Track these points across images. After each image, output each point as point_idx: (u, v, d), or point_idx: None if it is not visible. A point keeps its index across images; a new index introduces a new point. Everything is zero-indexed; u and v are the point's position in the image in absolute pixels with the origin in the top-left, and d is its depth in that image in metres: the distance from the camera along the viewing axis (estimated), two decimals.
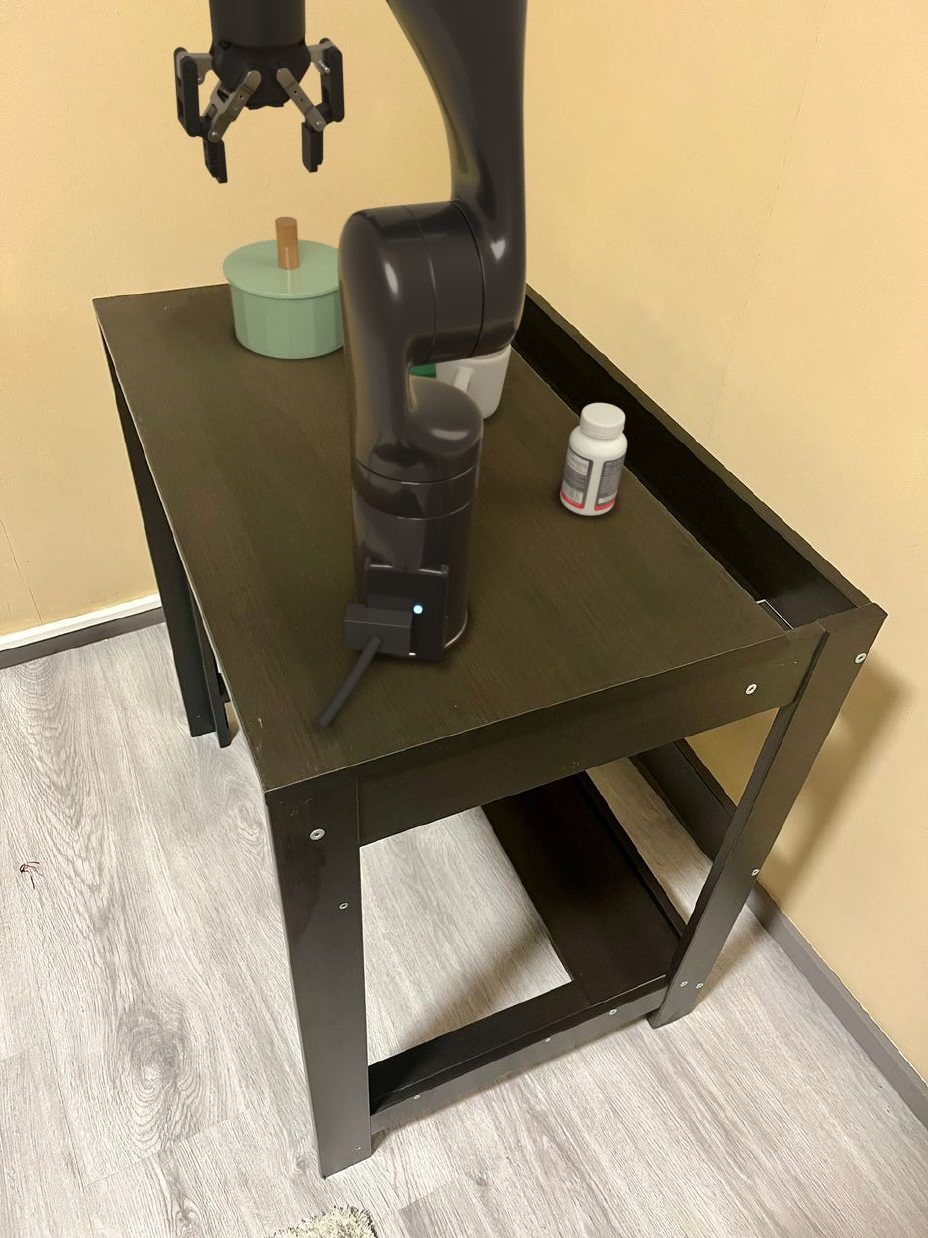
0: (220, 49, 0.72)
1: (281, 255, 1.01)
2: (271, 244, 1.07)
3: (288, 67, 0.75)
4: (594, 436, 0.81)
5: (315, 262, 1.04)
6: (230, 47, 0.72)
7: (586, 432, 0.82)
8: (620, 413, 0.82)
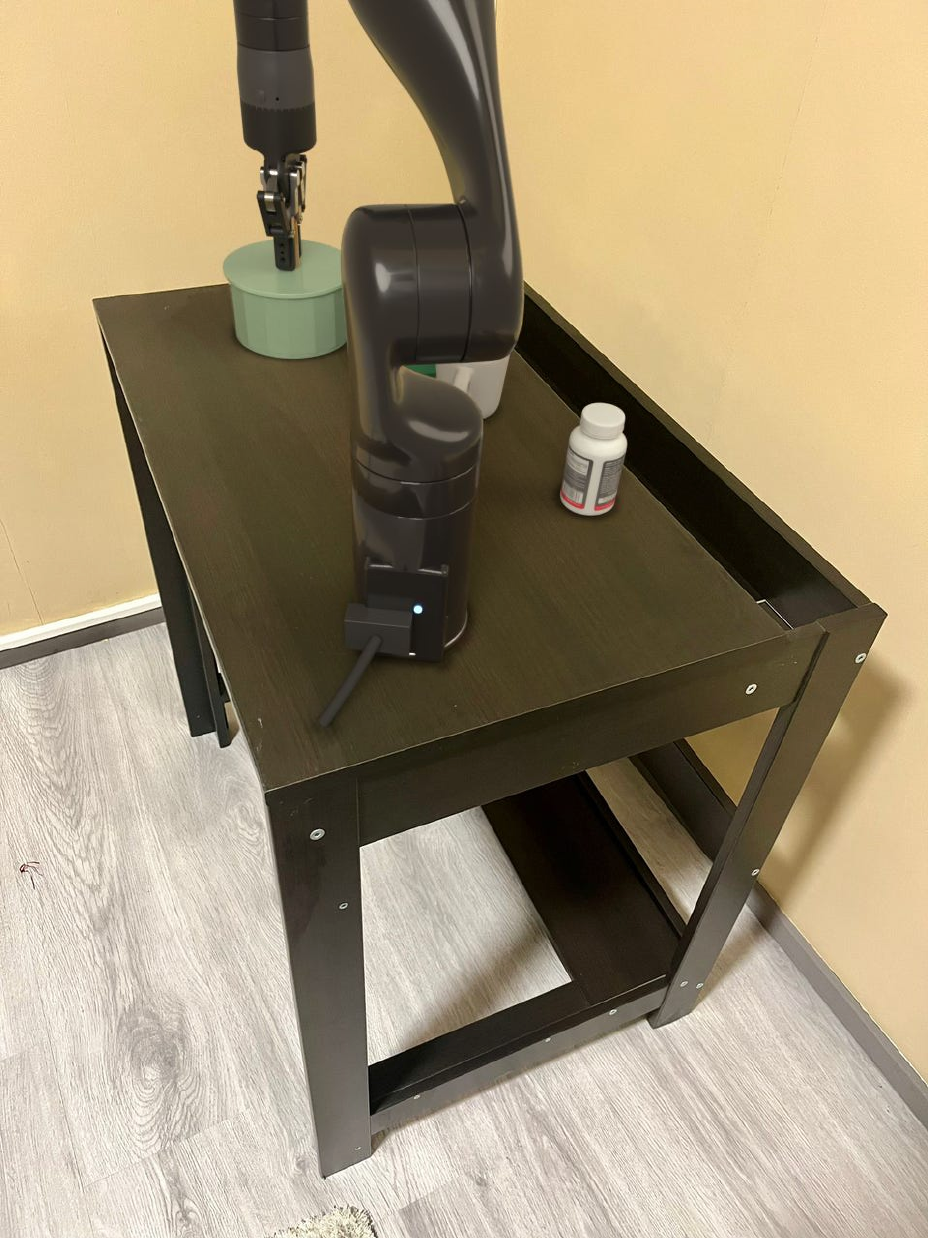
0: (282, 163, 0.92)
1: None
2: (271, 244, 1.07)
3: None
4: (594, 436, 0.81)
5: (315, 262, 1.04)
6: (285, 159, 0.93)
7: (586, 432, 0.82)
8: (620, 413, 0.82)
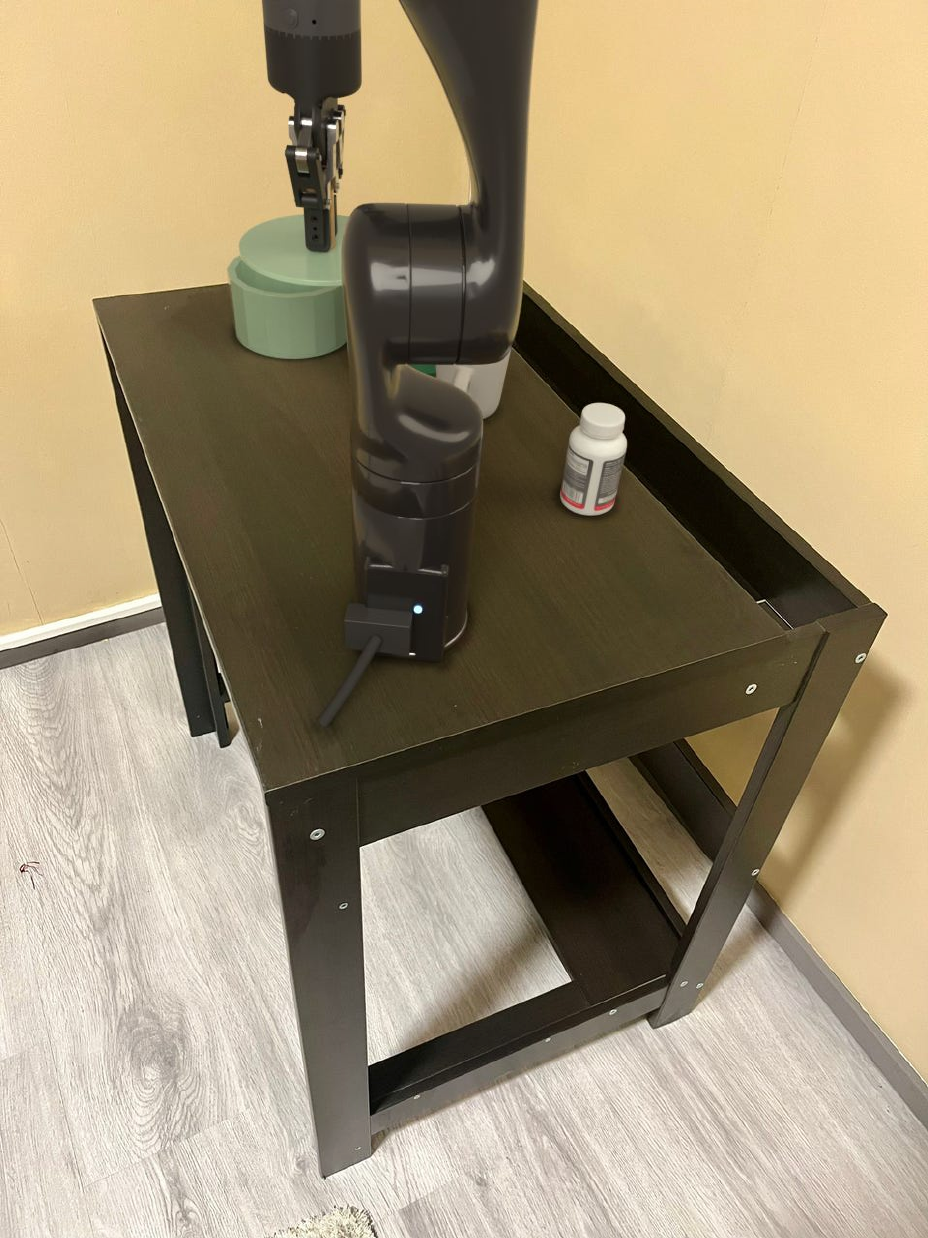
0: (318, 109, 0.71)
1: None
2: (298, 220, 0.86)
3: None
4: (594, 436, 0.81)
5: None
6: (322, 105, 0.72)
7: (586, 432, 0.82)
8: (620, 413, 0.82)
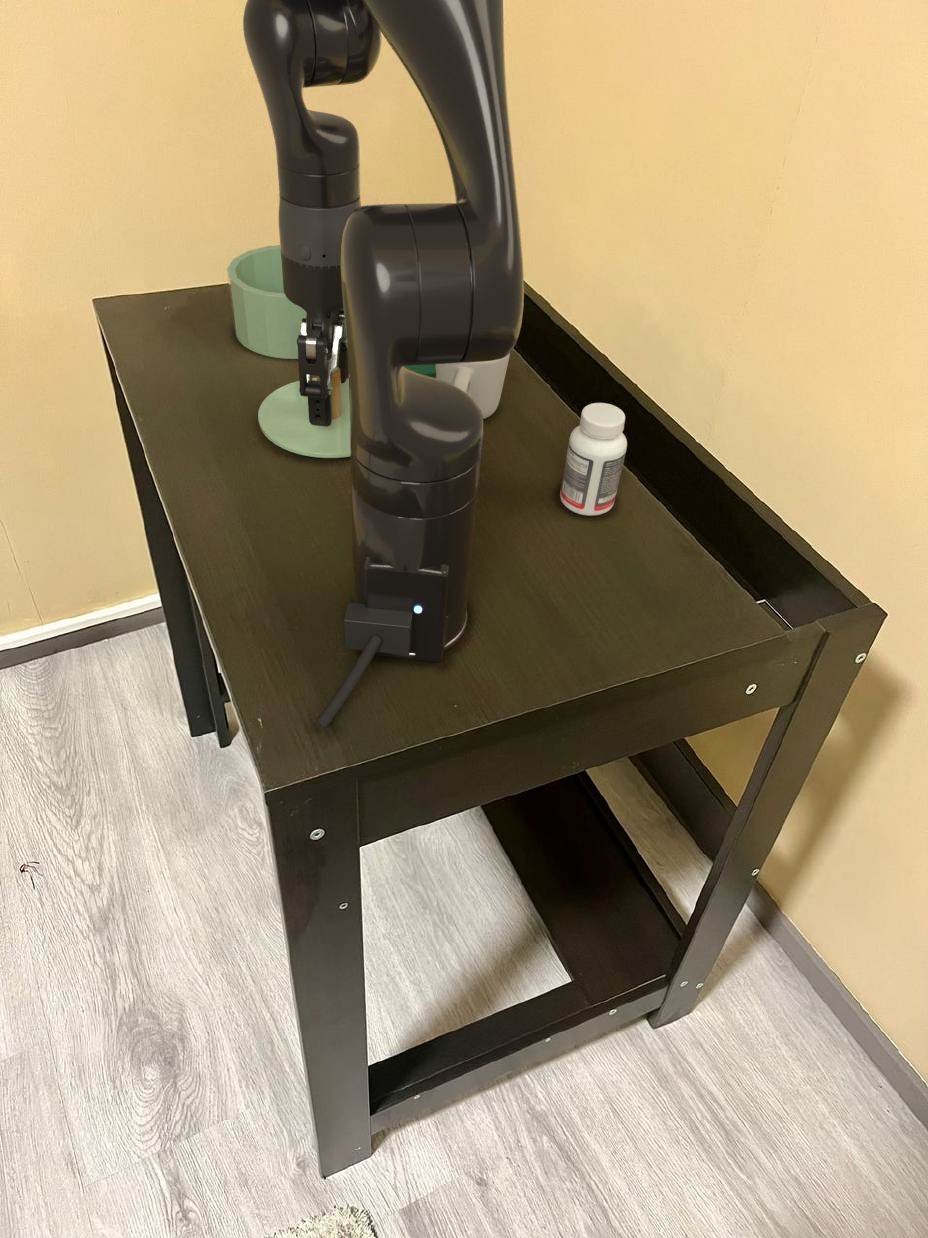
0: (327, 319, 0.83)
1: None
2: None
3: None
4: (594, 436, 0.81)
5: None
6: (330, 314, 0.84)
7: (586, 432, 0.82)
8: (620, 413, 0.82)
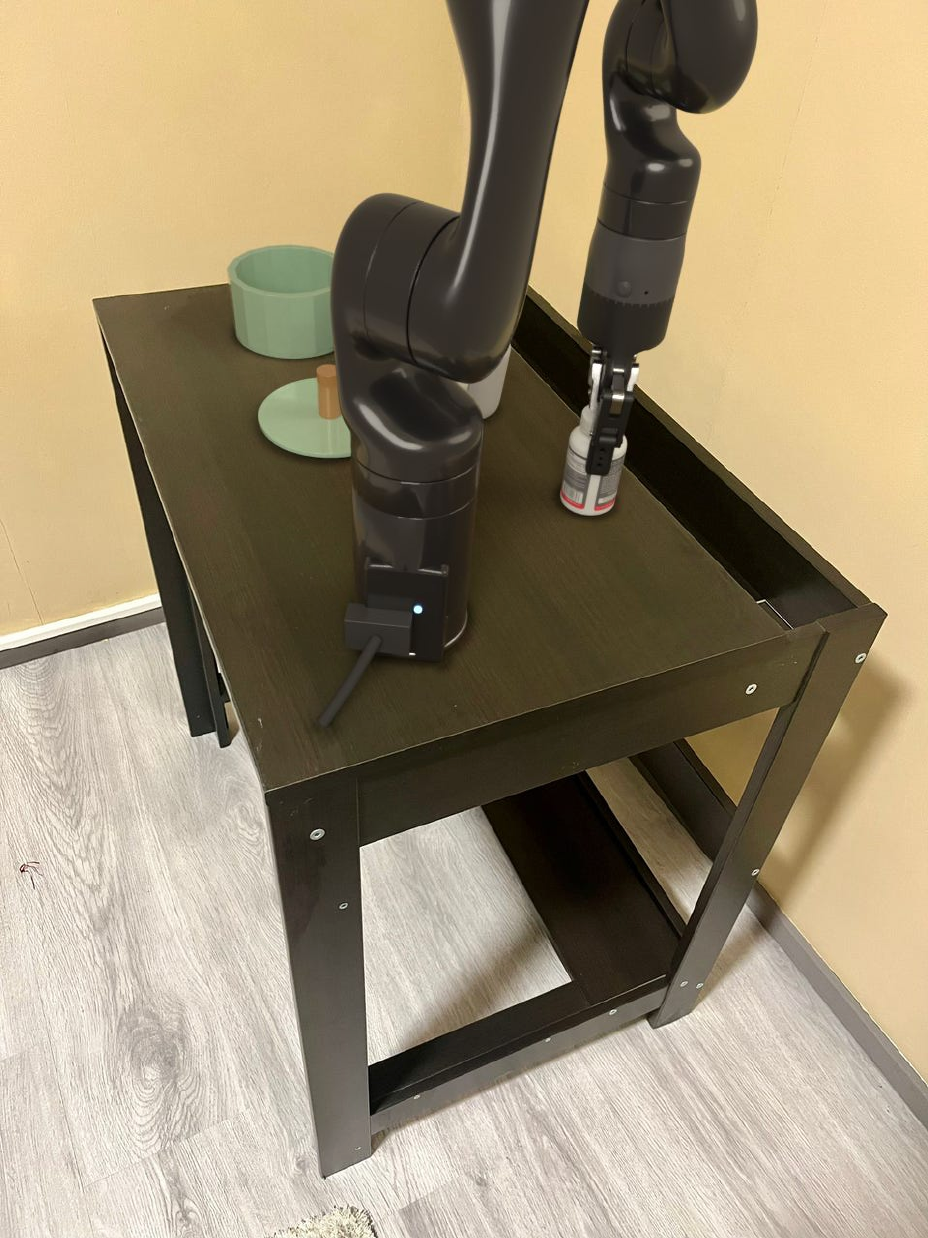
0: (631, 361, 0.74)
1: (322, 405, 0.93)
2: (309, 385, 0.98)
3: None
4: None
5: None
6: (633, 356, 0.75)
7: (586, 432, 0.82)
8: None
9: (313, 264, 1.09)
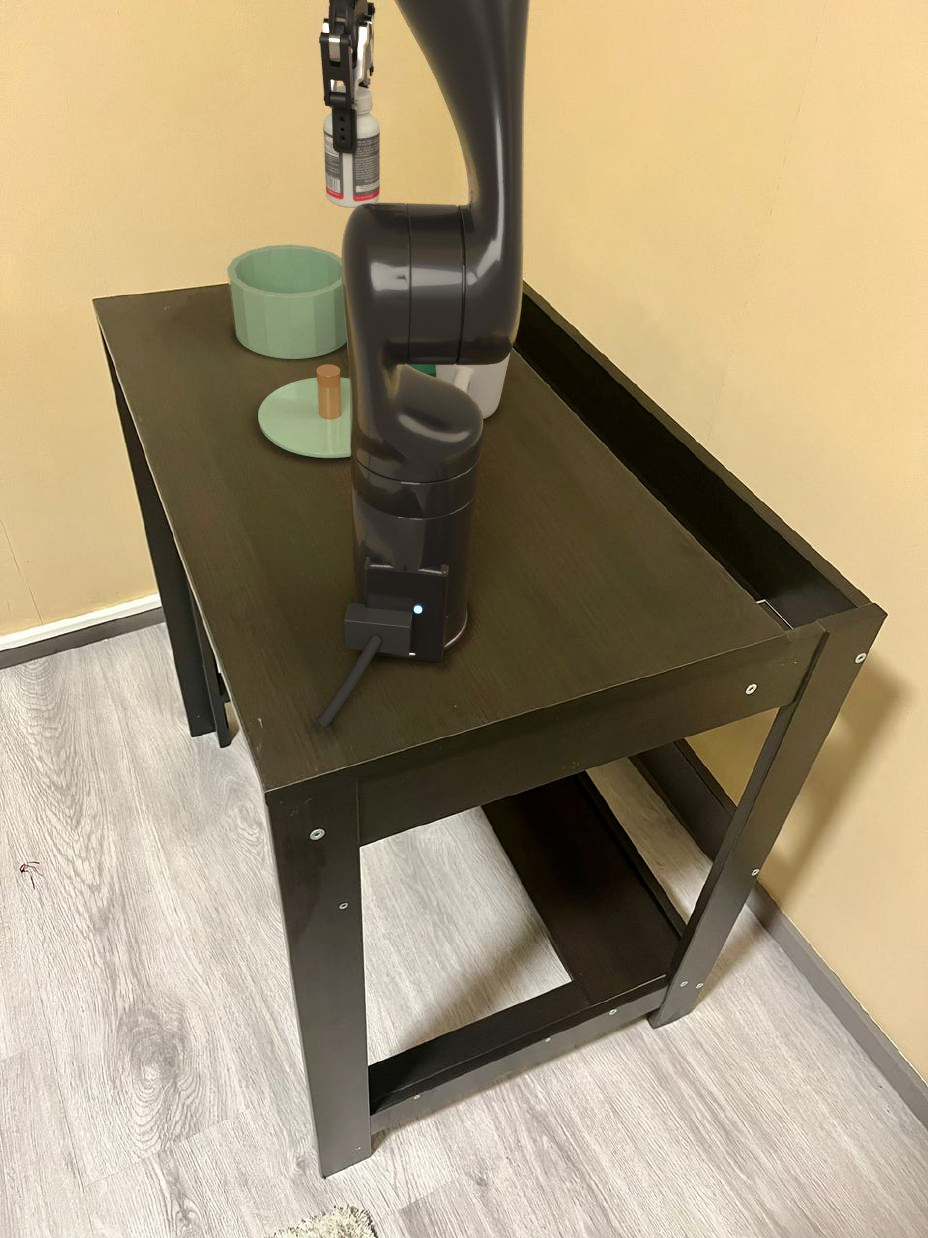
0: (351, 9, 0.77)
1: (322, 405, 0.93)
2: (309, 385, 0.98)
3: None
4: None
5: None
6: (354, 5, 0.77)
7: None
8: (367, 91, 0.85)
9: (313, 264, 1.09)
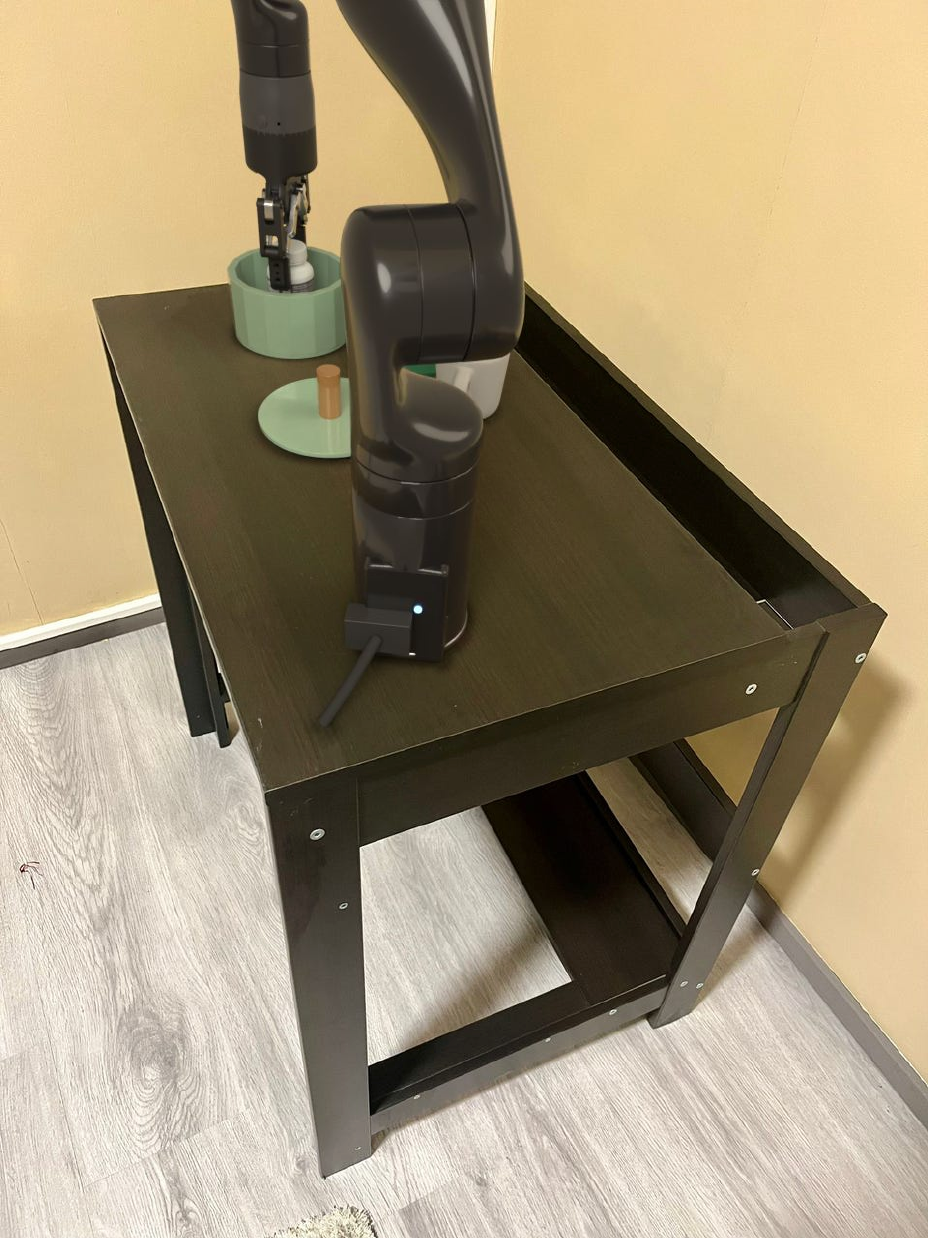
0: (283, 185, 0.94)
1: (322, 405, 0.93)
2: (309, 385, 0.98)
3: None
4: None
5: None
6: (286, 182, 0.94)
7: None
8: (302, 245, 1.02)
9: (313, 264, 1.09)
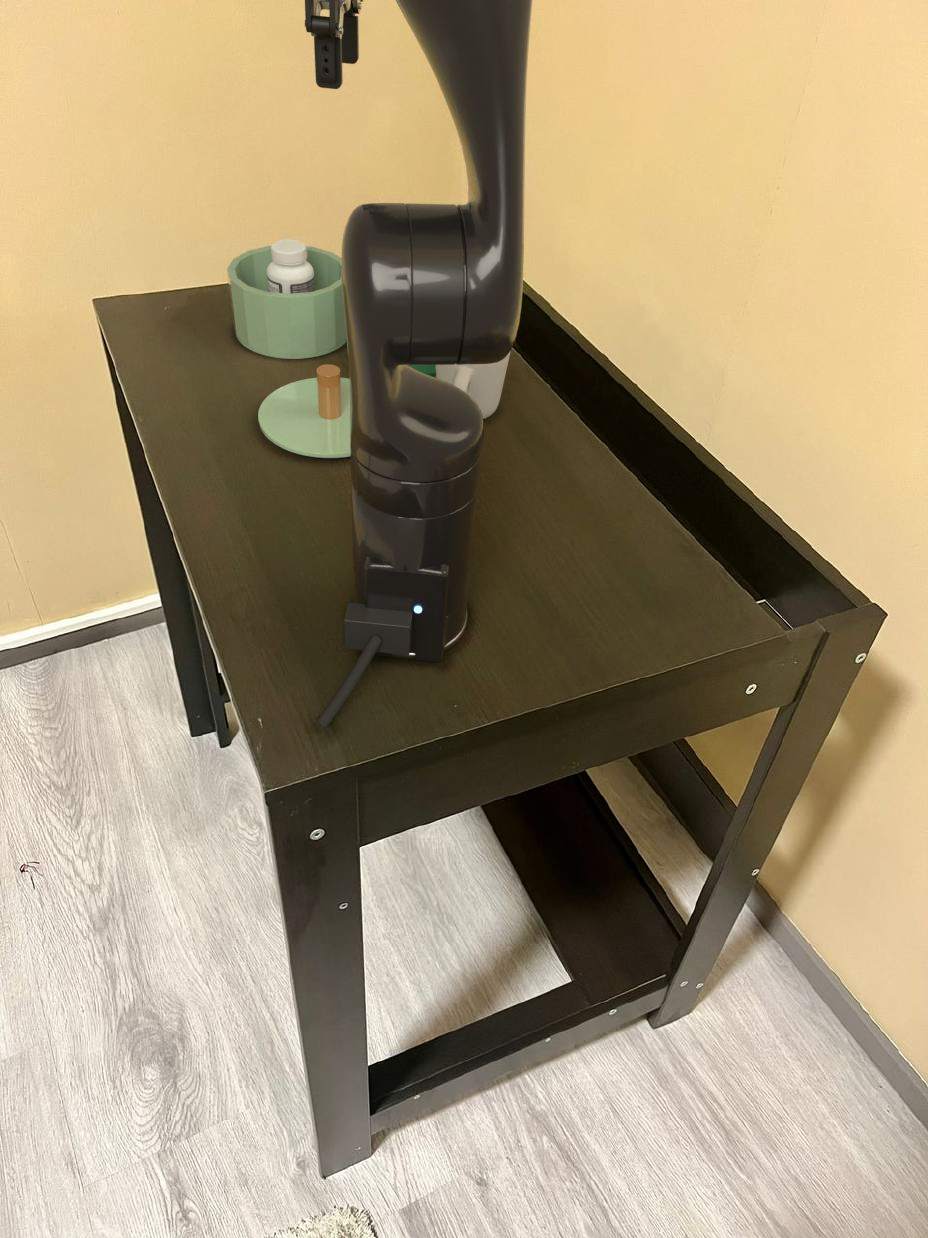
0: None
1: (322, 405, 0.93)
2: (309, 385, 0.98)
3: None
4: (280, 263, 1.01)
5: None
6: None
7: (274, 260, 1.02)
8: (302, 245, 1.02)
9: (313, 264, 1.09)
